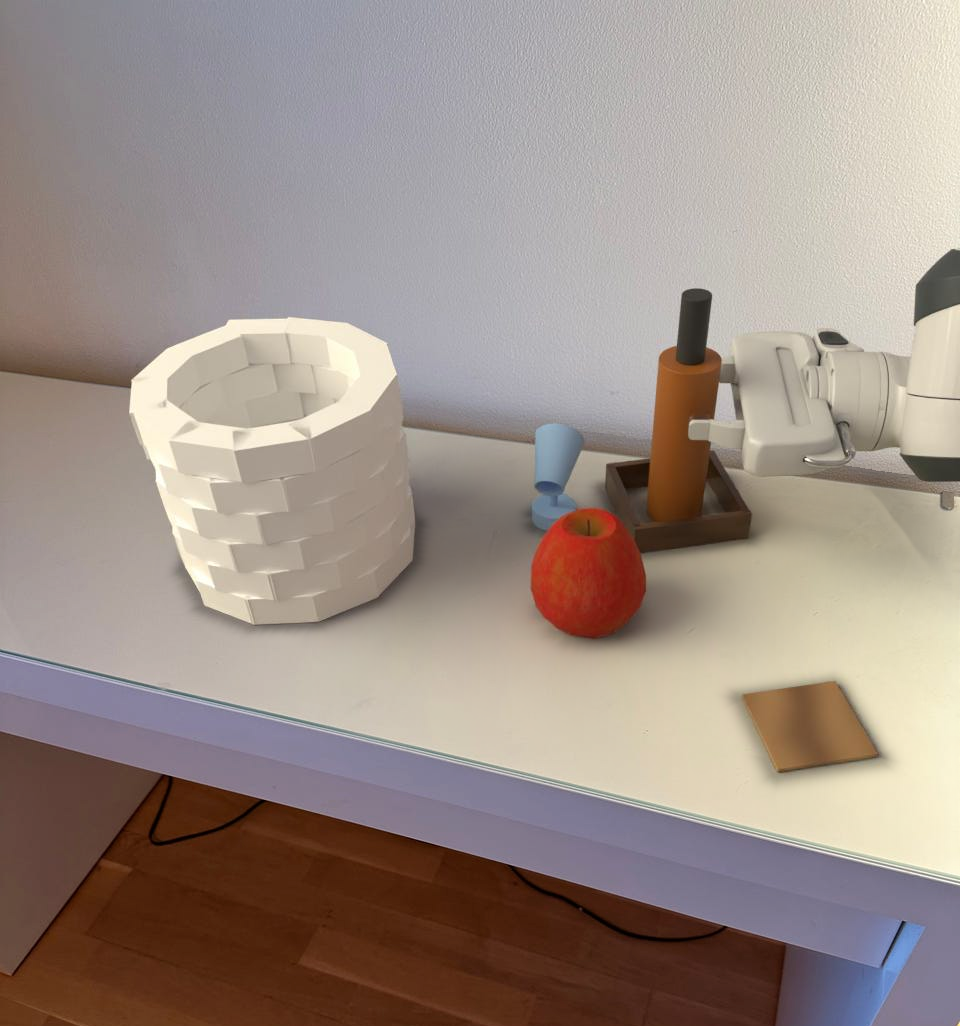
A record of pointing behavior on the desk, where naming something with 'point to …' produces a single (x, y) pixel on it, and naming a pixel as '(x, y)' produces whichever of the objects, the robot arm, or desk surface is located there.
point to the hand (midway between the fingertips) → (686, 400)
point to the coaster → (808, 726)
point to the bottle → (683, 414)
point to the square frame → (686, 529)
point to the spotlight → (554, 472)
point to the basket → (280, 465)
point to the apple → (588, 574)
